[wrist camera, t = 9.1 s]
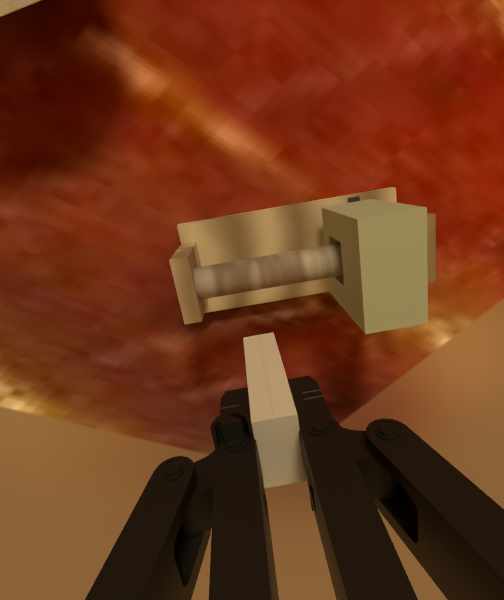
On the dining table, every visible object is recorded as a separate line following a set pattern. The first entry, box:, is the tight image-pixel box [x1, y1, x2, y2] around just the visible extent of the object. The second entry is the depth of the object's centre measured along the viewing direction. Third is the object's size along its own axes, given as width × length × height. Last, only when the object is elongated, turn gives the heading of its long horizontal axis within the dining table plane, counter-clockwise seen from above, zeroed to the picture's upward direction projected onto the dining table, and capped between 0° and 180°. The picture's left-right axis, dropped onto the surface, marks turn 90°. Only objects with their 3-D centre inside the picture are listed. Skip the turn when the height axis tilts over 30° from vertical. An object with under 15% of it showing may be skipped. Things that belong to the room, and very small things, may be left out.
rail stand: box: [169, 187, 436, 324], centre depth 36 cm, size 23×10×9 cm, turn 99°
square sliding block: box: [321, 199, 428, 334], centre depth 33 cm, size 5×9×11 cm, turn 9°
